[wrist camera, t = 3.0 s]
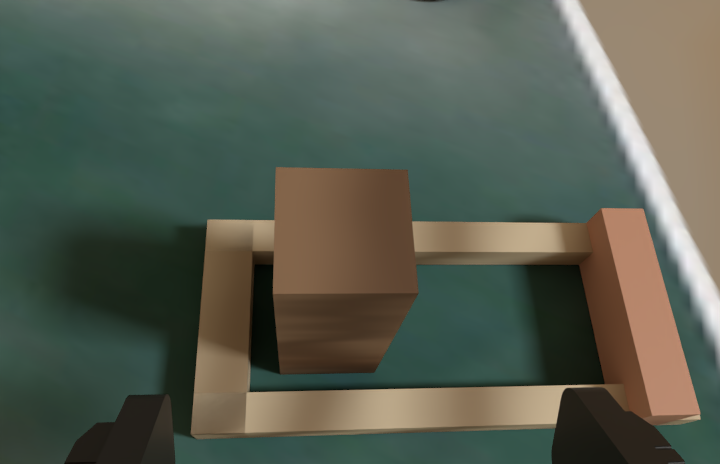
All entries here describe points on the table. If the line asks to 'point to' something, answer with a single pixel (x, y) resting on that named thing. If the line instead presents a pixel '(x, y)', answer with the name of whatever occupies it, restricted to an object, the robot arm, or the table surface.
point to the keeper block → (341, 267)
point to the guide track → (450, 405)
